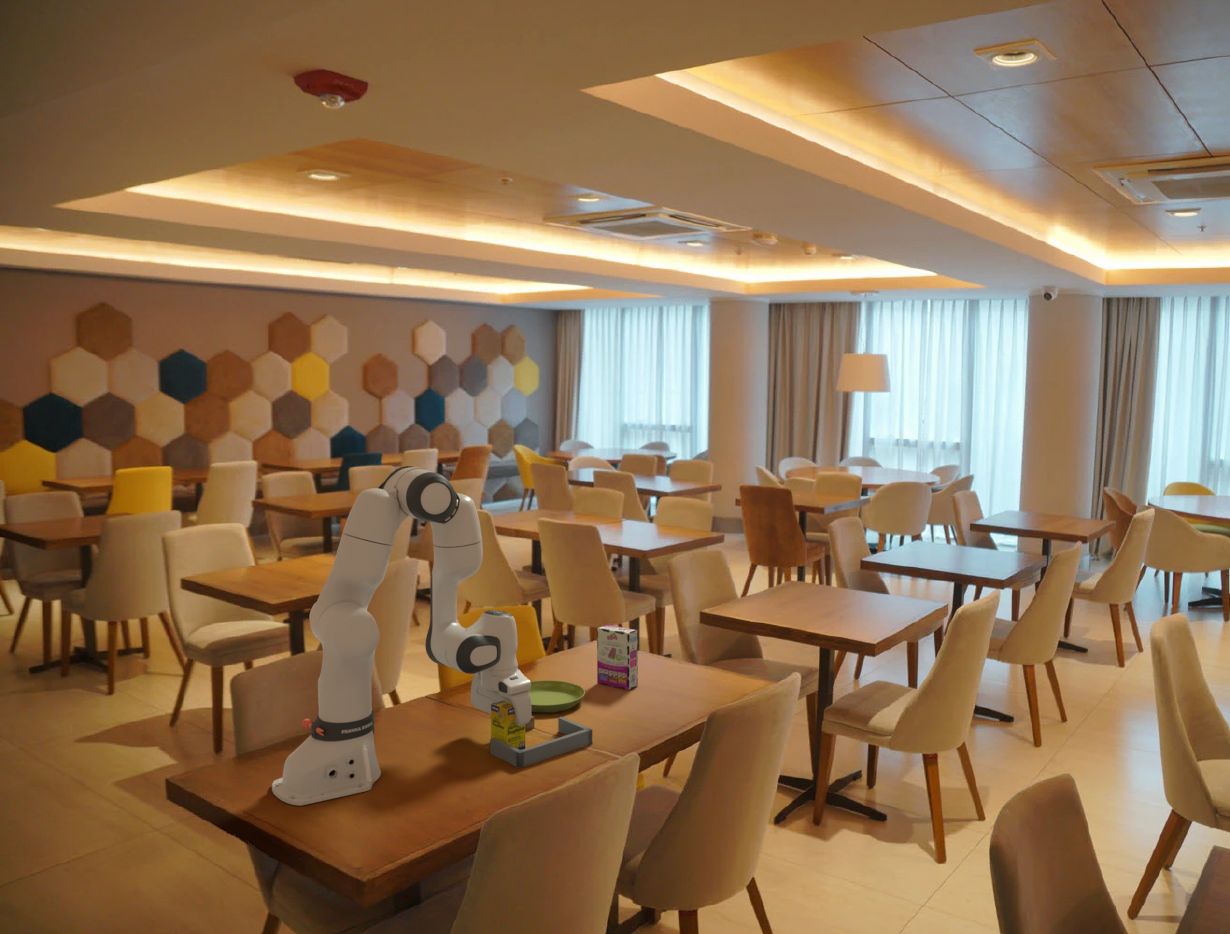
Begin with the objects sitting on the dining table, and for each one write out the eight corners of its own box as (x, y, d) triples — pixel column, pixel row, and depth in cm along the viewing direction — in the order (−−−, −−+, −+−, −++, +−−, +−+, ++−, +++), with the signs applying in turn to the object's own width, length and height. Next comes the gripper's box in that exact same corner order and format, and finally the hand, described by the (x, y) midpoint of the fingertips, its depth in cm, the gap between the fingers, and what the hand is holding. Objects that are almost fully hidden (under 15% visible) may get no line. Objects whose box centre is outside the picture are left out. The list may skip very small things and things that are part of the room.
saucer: (555, 722, 238) (555, 710, 237) (492, 707, 248) (491, 695, 248) (599, 699, 255) (599, 687, 255) (538, 686, 266) (538, 675, 266)
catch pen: (519, 768, 208) (519, 753, 208) (490, 753, 217) (490, 738, 217) (592, 743, 223) (592, 729, 222) (562, 730, 231) (562, 716, 231)
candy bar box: (638, 686, 265) (638, 629, 264) (628, 691, 261) (628, 633, 260) (606, 679, 271) (606, 623, 270) (596, 683, 267) (596, 627, 266)
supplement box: (507, 755, 216) (506, 709, 215) (490, 748, 220) (489, 703, 219) (526, 748, 220) (526, 703, 219) (509, 741, 224) (509, 697, 223)
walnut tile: (516, 733, 230) (516, 721, 230) (506, 727, 234) (506, 715, 234) (534, 728, 233) (534, 717, 233) (524, 723, 237) (524, 711, 237)
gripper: (463, 670, 229) (464, 725, 230) (514, 690, 214) (514, 748, 215) (485, 664, 233) (485, 718, 235) (535, 684, 218) (536, 741, 220)
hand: (500, 733), depth 225 cm, fingers closed
